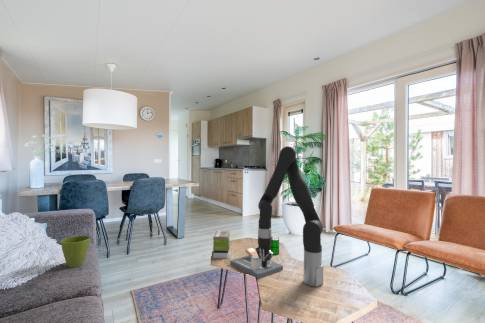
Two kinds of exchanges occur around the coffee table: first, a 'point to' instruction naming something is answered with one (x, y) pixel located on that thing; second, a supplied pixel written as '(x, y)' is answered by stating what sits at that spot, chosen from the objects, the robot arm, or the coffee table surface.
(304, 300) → the coffee table surface
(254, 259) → the slider knob
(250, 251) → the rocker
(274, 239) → the puzzle cube
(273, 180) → the robot arm
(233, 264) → the control board
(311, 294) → the coffee table surface
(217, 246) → the tea box
